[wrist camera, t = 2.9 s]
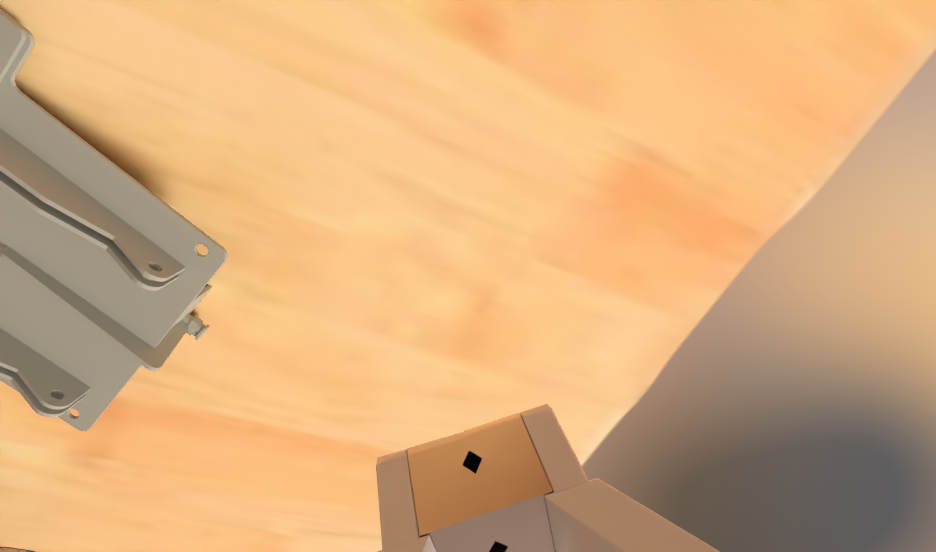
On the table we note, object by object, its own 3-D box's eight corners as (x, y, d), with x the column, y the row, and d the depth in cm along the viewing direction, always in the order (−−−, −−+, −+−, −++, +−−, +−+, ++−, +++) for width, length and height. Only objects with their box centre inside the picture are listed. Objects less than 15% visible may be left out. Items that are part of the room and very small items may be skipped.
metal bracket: (259, 244, 18) (49, 501, 22) (306, 212, 24) (133, 420, 27) (-148, -77, 15) (-320, 283, 18) (16, -28, 21) (-140, 242, 24)
